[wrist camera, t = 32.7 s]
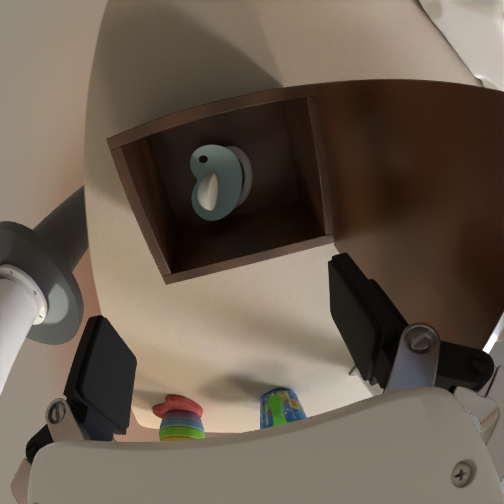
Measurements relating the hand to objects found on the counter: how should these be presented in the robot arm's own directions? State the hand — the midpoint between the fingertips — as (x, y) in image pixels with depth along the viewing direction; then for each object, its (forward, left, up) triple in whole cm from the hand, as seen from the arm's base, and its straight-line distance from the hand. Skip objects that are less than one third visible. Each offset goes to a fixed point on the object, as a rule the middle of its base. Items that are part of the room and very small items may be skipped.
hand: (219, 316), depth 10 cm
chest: (+1, +1, -20) cm, 20 cm away
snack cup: (-1, -46, -20) cm, 50 cm away
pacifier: (+1, 0, -19) cm, 19 cm away
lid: (+8, +1, -2) cm, 9 cm away
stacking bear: (-22, -44, -20) cm, 53 cm away
